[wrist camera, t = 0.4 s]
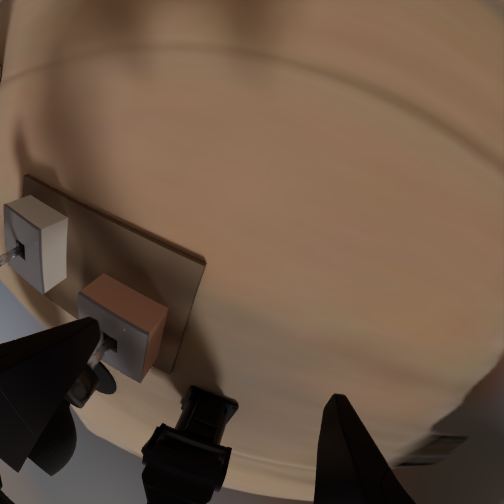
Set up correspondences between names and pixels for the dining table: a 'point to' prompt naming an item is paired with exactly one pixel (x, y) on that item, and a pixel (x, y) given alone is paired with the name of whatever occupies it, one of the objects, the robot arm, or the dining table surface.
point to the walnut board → (122, 265)
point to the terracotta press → (124, 324)
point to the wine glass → (64, 430)
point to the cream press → (37, 241)
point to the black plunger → (11, 254)
